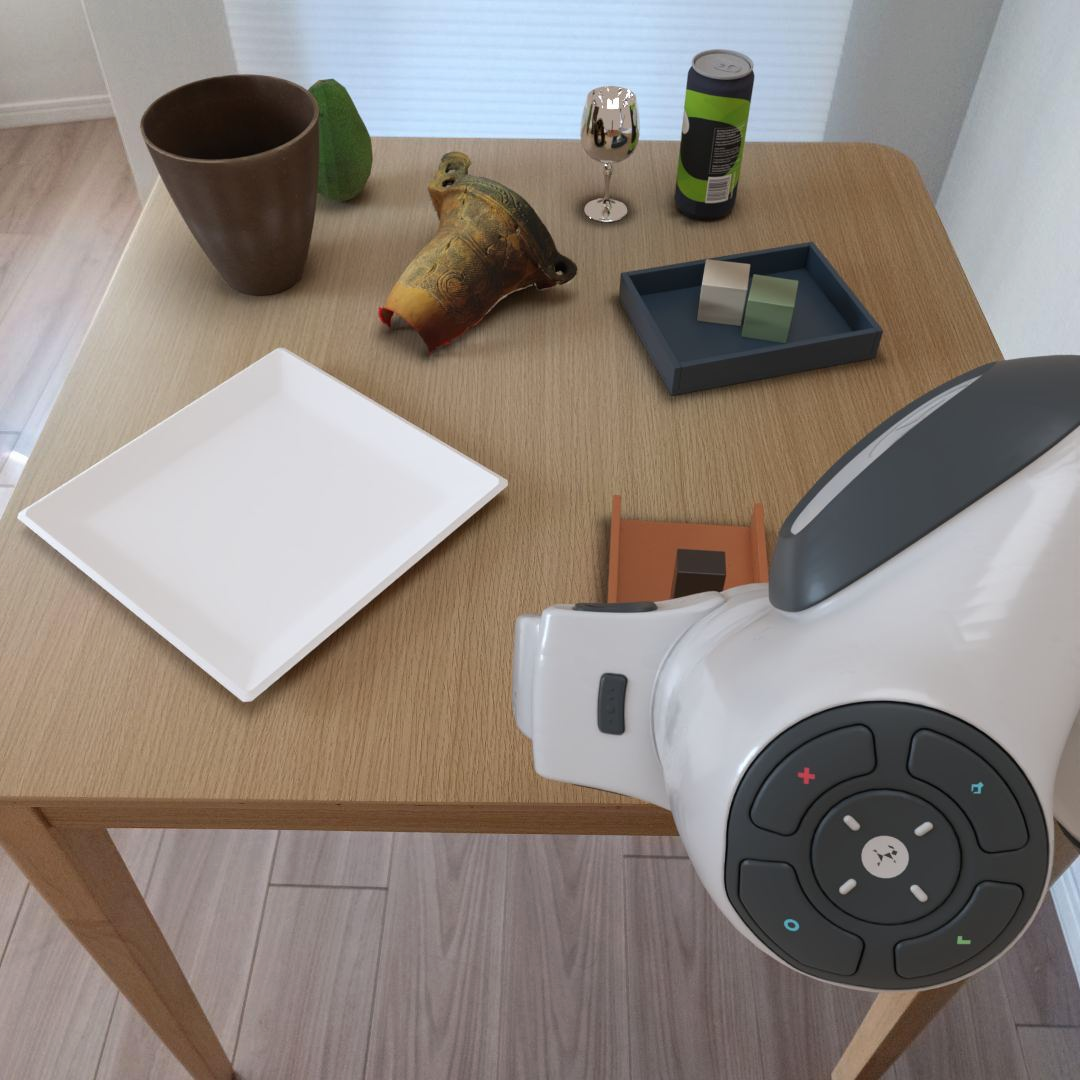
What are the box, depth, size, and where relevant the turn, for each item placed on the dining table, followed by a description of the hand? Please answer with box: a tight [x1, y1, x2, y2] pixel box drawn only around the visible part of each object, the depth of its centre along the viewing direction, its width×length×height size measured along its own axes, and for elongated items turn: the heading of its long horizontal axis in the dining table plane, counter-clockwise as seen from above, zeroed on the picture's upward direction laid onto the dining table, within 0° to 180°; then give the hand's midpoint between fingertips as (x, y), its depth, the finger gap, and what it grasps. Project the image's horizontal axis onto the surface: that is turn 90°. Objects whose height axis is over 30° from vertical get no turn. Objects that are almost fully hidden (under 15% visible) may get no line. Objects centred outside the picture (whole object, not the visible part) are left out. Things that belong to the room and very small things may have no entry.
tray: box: [618, 241, 884, 396], centre depth 99 cm, size 19×14×3 cm
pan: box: [606, 494, 769, 603], centre depth 75 cm, size 13×11×10 cm
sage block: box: [742, 274, 798, 344], centre depth 97 cm, size 4×4×4 cm
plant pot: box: [139, 73, 319, 296], centre depth 99 cm, size 15×15×16 cm
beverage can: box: [674, 48, 755, 221], centre depth 108 cm, size 6×6×15 cm
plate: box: [16, 347, 509, 703], centre depth 83 cm, size 26×26×2 cm
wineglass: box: [579, 85, 641, 223], centre depth 108 cm, size 6×6×12 cm
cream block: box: [697, 258, 750, 326], centre depth 99 cm, size 4×4×4 cm
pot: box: [377, 151, 579, 355], centre depth 99 cm, size 17×11×18 cm
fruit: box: [307, 78, 374, 203], centre depth 110 cm, size 8×8×12 cm
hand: (728, 648), depth 54 cm, fingers open, 8 cm apart
